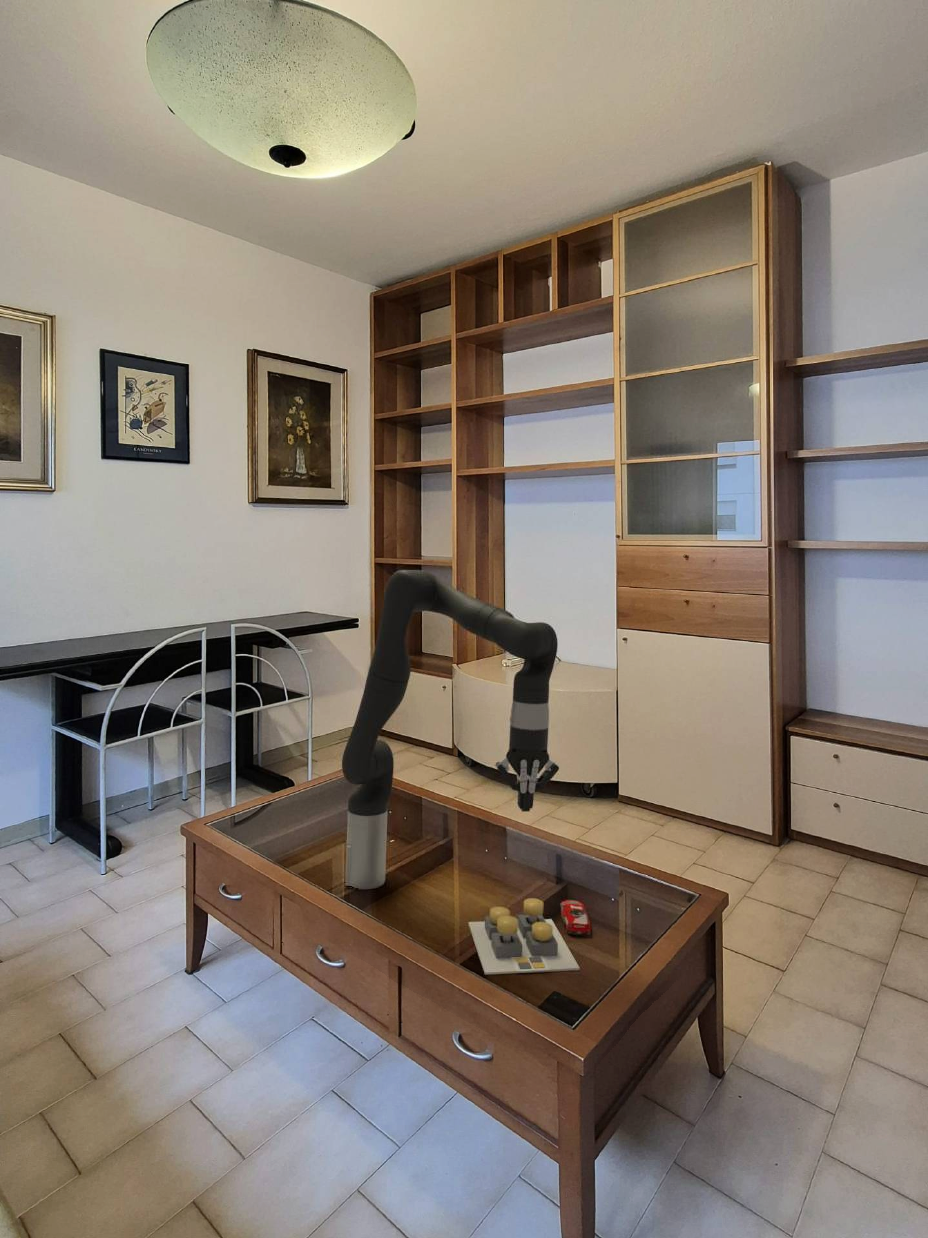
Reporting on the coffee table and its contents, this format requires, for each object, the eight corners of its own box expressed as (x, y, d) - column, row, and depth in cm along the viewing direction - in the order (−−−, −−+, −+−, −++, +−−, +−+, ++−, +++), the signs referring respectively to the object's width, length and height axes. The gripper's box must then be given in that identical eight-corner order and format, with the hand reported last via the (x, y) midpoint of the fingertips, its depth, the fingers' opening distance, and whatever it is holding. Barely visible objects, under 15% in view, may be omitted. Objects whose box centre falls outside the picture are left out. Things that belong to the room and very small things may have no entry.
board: (485, 976, 129) (485, 961, 128) (468, 924, 148) (468, 911, 148) (580, 971, 131) (581, 956, 131) (551, 921, 151) (552, 908, 150)
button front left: (498, 948, 134) (499, 926, 134) (494, 937, 138) (495, 916, 138) (519, 947, 135) (520, 925, 135) (514, 936, 139) (515, 915, 139)
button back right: (525, 928, 142) (526, 907, 142) (520, 919, 146) (521, 898, 146) (544, 927, 143) (545, 907, 143) (539, 918, 147) (540, 898, 147)
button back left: (491, 937, 141) (492, 916, 141) (487, 927, 145) (488, 907, 145) (510, 936, 142) (511, 915, 142) (506, 926, 146) (507, 906, 146)
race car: (558, 908, 157) (559, 891, 157) (582, 910, 157) (583, 892, 157) (565, 938, 144) (565, 919, 144) (591, 939, 144) (592, 920, 144)
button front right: (533, 954, 136) (535, 932, 135) (528, 943, 140) (529, 922, 139) (554, 953, 136) (555, 931, 136) (548, 942, 140) (549, 921, 140)
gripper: (500, 727, 134) (496, 817, 135) (567, 728, 136) (562, 816, 137) (492, 719, 141) (488, 804, 142) (556, 720, 144) (552, 804, 145)
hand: (525, 810), depth 140 cm, fingers closed
